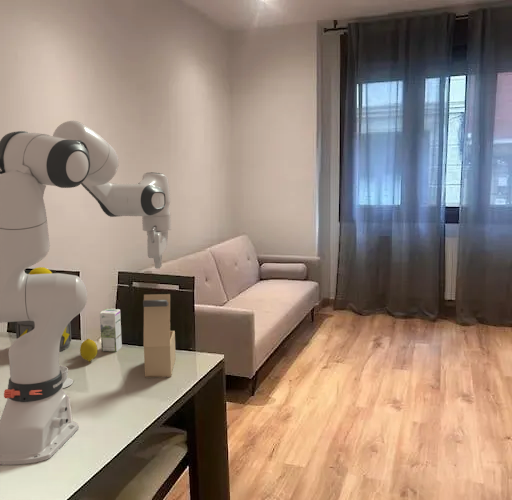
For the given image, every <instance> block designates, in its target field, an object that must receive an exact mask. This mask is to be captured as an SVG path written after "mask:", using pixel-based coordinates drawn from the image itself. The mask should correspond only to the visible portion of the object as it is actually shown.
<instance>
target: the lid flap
mask: <svg viewBox="0 0 512 500" xmlns="http://www.w3.org/2000/svg"><path fill="white" fill-rule="evenodd" d="M142 307H143V348H144V347H158V346H170V331H171V293H167V294H166V293H164V294H163V293H161V294H160V293H157V294H156V293H155V294H154V293H153V294H143V300H142Z"/></svg>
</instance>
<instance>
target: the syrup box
mask: <svg viewBox="0 0 512 500" xmlns="http://www.w3.org/2000/svg"><path fill="white" fill-rule="evenodd" d="M121 316H122V315H121V309H119V308H117V309H115V308H113V309H112V308H105V309H103V310H101V312H99V325H100V343H101V352H110V353H113V352H118V351H120V350H121V349H122V347H123V343H122V340H123V339H122V325H121V323H122V322H121V320H122V319H121Z"/></svg>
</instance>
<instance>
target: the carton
mask: <svg viewBox="0 0 512 500" xmlns="http://www.w3.org/2000/svg"><path fill="white" fill-rule="evenodd" d="M143 355H144V359H143V361H144V363H143V364H144V379H152V378H154V379H155V378H172V375H173V372H174V371H173V370H174V367H175V363H176V332H175V330H170V346H158V347H144V346H143Z"/></svg>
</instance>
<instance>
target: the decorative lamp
mask: <svg viewBox="0 0 512 500" xmlns="http://www.w3.org/2000/svg"><path fill="white" fill-rule="evenodd" d="M50 273H53V272H52V271H51V270H50V269H49V268H46V267H44V266H43V267H42V266H41V267H40V266H39V267H35V268H33V269H32V270H30V272H29V273H28V274H50ZM14 323H15V334H16V335H15V338H16V339H18V338H19V337H21V336H22V335H24V334H26V333H28V332H30V331H32V330H33V329H34V328H35V323H34V321H17V322H14ZM71 325H72V324H71V321H70V322H69V324H68V325H67V326H66V328H65V330H64V332H63V334H62V337H61V340H60V348H59V353H60V352H63V351H65V350H67V349H68V348H69V347H70V346H71V342H72V331H71V329H72V328H71Z"/></svg>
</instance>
